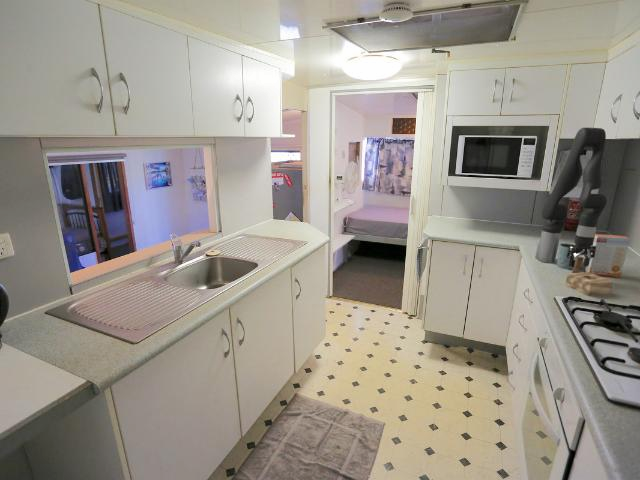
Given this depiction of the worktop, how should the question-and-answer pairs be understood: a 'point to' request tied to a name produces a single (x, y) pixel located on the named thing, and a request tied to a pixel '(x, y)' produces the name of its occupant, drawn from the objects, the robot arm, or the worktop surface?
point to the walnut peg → (578, 265)
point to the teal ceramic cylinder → (564, 256)
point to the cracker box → (608, 255)
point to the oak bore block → (588, 283)
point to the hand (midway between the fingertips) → (578, 266)
